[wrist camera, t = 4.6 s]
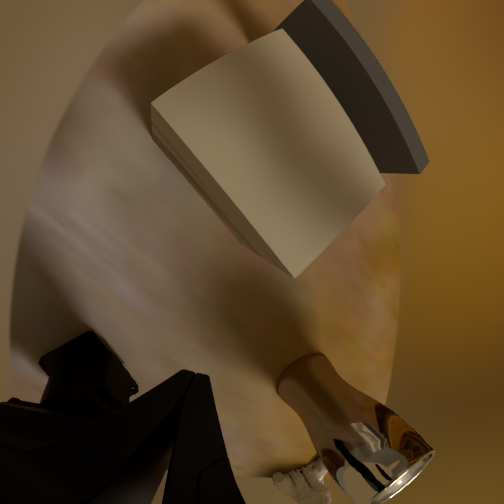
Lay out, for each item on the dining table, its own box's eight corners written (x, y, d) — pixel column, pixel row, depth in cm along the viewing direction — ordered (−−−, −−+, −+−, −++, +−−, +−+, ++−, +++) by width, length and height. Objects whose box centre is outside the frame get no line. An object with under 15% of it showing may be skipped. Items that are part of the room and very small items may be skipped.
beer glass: (281, 413, 25) (359, 519, 11) (264, 372, 23) (361, 503, 9) (337, 382, 27) (427, 468, 13) (329, 337, 24) (447, 432, 11)
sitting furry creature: (329, 449, 31) (374, 502, 20) (323, 473, 33) (359, 518, 22) (270, 473, 28) (307, 536, 17) (271, 493, 30) (303, 546, 19)
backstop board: (341, 173, 21) (419, 174, 14) (254, 51, 16) (307, -3, 9) (352, 163, 21) (429, 161, 14) (268, 44, 16) (324, -7, 9)
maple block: (241, 243, 20) (294, 278, 12) (152, 139, 16) (150, 102, 9) (309, 182, 20) (385, 184, 13) (233, 81, 17) (282, 28, 9)
